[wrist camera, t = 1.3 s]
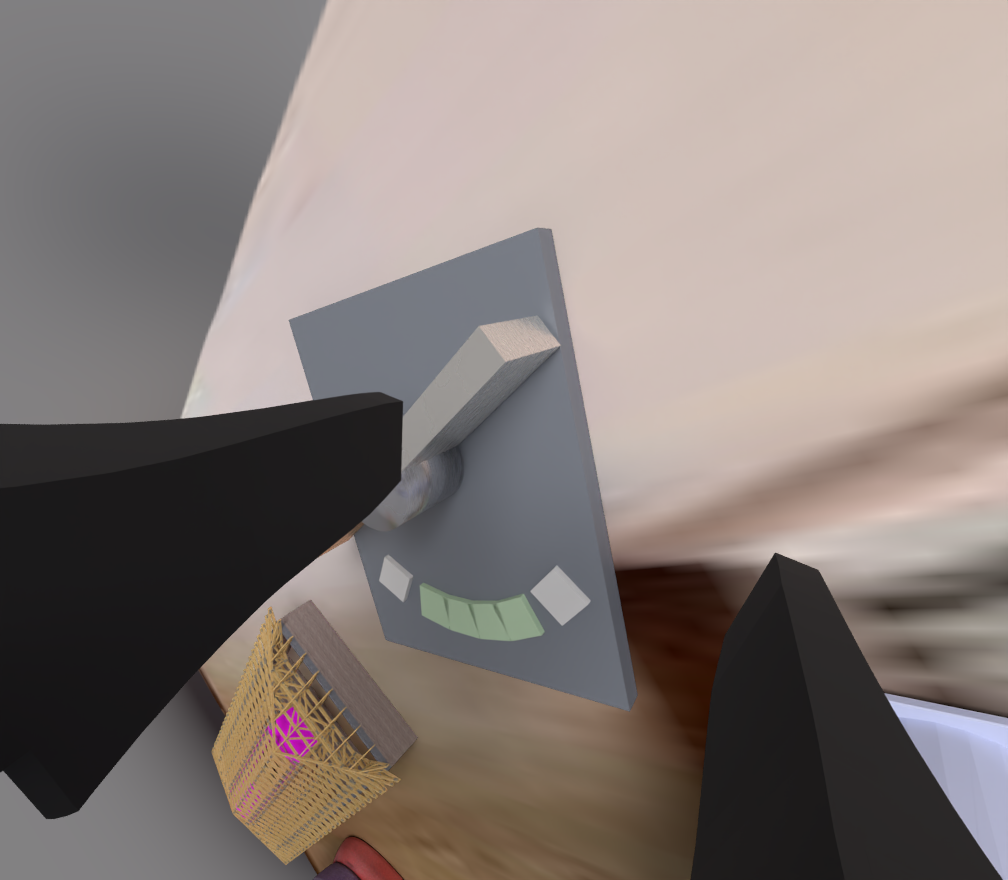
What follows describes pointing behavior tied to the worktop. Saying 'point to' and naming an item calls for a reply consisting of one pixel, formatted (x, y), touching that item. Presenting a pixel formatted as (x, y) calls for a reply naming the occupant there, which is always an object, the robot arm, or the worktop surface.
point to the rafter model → (305, 735)
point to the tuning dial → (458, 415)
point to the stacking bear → (358, 864)
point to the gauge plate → (487, 480)
